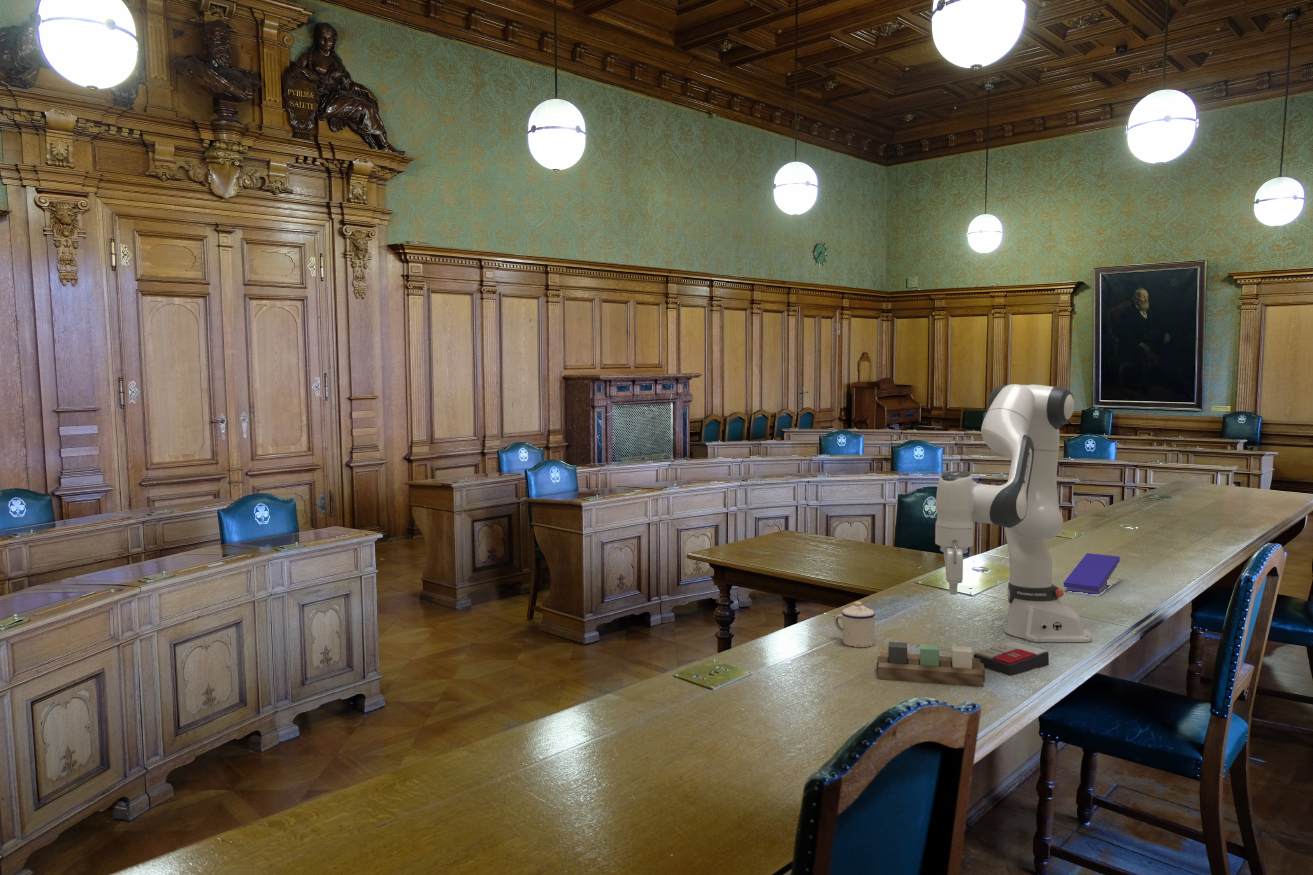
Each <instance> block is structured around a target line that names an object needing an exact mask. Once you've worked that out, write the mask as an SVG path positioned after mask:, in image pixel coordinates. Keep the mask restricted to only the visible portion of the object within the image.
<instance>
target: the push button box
mask: <svg viewBox="0 0 1313 875" xmlns="http://www.w3.org/2000/svg"><path fill="white" fill-rule="evenodd" d="M973 658H977V659H980V661H981V663H983V665H984V669H988V670H991V671H993V672H997V673H1000V674H1002V675H1003V674H1004V675H1005V676H1008V677H1009V676H1010V677H1012V676H1016V675H1019V674H1022V673H1026V672H1029V671H1031V670H1033V669H1040V668H1043V667H1047V666H1049V665H1050V664H1049V663H1050V662H1049V652H1048V651H1046V650H1045V649H1041V648H1038V647H1034V646H1031V645H1026V644H1023V643H1020V642H1016V641H1013V640H1012V641H1008V642H1005V643H1000V644H997V645H994V646H991V647H989V648H984V649H982V650H978V651H976V652H975V653H974V654H973Z"/></svg>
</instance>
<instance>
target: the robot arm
mask: <svg viewBox="0 0 1313 875" xmlns="http://www.w3.org/2000/svg"><path fill="white" fill-rule="evenodd" d="M1074 398H1075V397H1074V394H1073V392H1071V391H1070V389H1068V388H1065V387H1062V386H1057V385H1056V386H1050V385H1043V384H1015V383H1012V384H1003V385H999V386H996V387H995V388H994V389H992V391H991V392H990V394H989V397H988V402H987V406H988V410H987V412H986V414H985V416H984V419H983V422H982V424H981V429H980V432H981V437H982V440H983V441H984V442H985V444H986V446H987V447H988V448H990V449H991V450H992V451H994V452H995V453H997V454H999V455H1000V456H1001V455H1002V456H1004V457H1007V458H1009V459H1010V460H1011V462H1010V470H1009V472H1008V480H1007V482H1006V483H1003V484H1001V485H995V484H994V485H993V484H984V483H983V484H982V483H977V482H976V481H974V480H973V477H972V476H973V475H972V474H971V473H970V472H967V471H965V470H964V471H962V470H960V471H959V470H954V471H947V472H944V473H943V474H941V475H940V476H939V478H938V483H937V488H936V497H935V509H936V513H937V516H936V520H935V529H934V530H935V538H934V540H935V541H934V544H935V545H937V546H938V547H939V546H940V548H939V550H940V552H942V553H943V558H944V559H943V560H944V566H945V569H944V570H945V580H946V582H947V583H948V592H949V594H950V596H951V595H954V596H957V595H958V585H959V584H962V583H963V576H964V554H967V553H968V549H969V548H972V547H973V546H974V530H975V529H974V528H975V526H974V522H975V523H981V524H987V525H988V524H990V525H995V526H998V527H1004V533H1005V539H1006V543H1007V547H1008V548H1007V550H1008V557H1009V558H1008V559H1009V582H1008V583H1007V585H1008V586H1007V600H1008V608H1007V617H1006V622H1005V626H1004V628H1003V631H1004V632H1005V633H1006V634H1008V635H1011V636H1014V637H1015V638H1017V637H1018V638H1020V639H1024V640H1027V641H1030V642H1034V643H1089V642H1091V641H1092V640H1093V636H1092V633H1091V631H1090V630H1089V629H1087V628H1086V627H1084V626H1083V621H1082V618H1081V615H1080V614H1079V613H1078V611H1076V609H1074V608H1073V607H1072V606H1070V605H1069V604H1068V603H1067V602H1065V601H1064V600H1062V599H1061V598H1063V596H1065V593H1064V591H1063V590H1062V589H1061V588H1059V587H1058V586H1057V585H1054V584H1053V557H1052V554H1051V552H1050V550H1049V546H1048V543H1047V540H1050V539H1051V540H1052V539H1053V538H1055V537H1057V536H1058V535H1059V534H1060V532H1061V531H1062V530H1063V528H1064V527H1063V526H1064V518H1063V515H1062V513H1061V512H1062V511H1060V503H1059V495H1058V494H1059V492H1058V486H1057V480H1058V479H1057V474H1058V464H1059V463H1058V462H1059V454H1060V453H1059V452H1060V442H1061V441H1060V440H1061V439H1060V428H1061V427H1062V426H1064V425H1066V424H1067V423H1068V422H1069V421H1070V420H1071V418H1072V417H1073V413H1074V410H1075V399H1074Z"/></svg>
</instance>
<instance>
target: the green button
mask: <svg viewBox="0 0 1313 875" xmlns="http://www.w3.org/2000/svg"><path fill="white" fill-rule="evenodd" d="M939 648H940V646H939V644H935V643H933V644H931V643H919V655H920V665H923V666H937V667H939V656H940V649H939Z"/></svg>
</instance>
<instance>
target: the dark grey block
mask: <svg viewBox="0 0 1313 875" xmlns="http://www.w3.org/2000/svg"><path fill="white" fill-rule="evenodd" d="M887 650H888V651H887V652H888V659H889V663H895V664H907V654H908V642H902V641H900V642H899V641H888V647H887Z"/></svg>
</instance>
